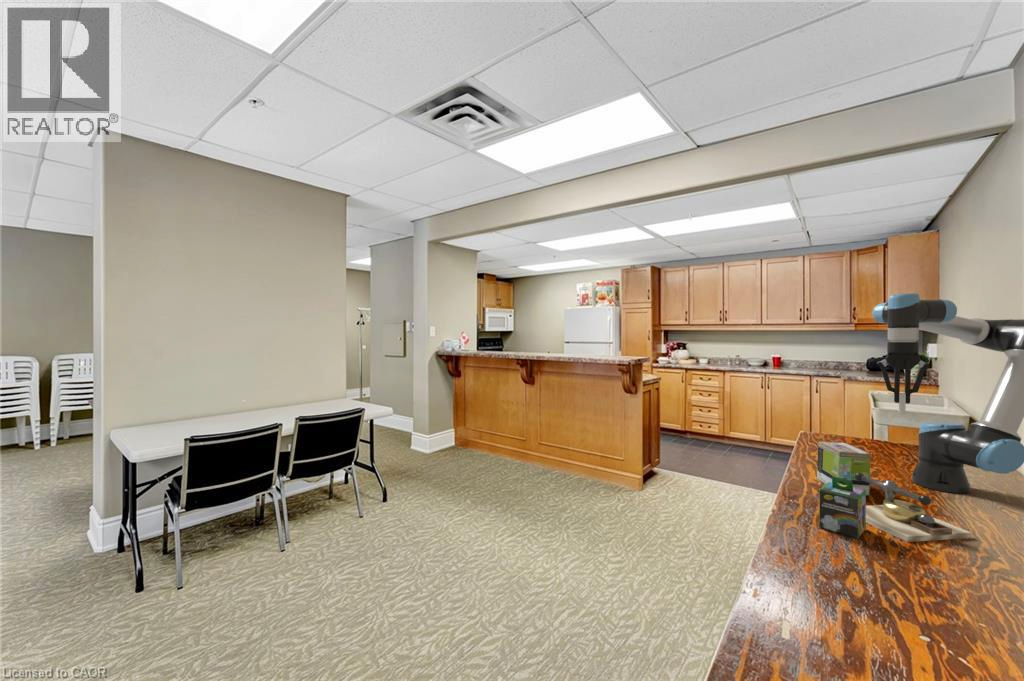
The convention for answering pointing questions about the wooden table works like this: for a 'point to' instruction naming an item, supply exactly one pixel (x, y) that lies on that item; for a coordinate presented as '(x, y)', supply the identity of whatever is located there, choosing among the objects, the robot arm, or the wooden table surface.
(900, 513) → the capstan
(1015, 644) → the wooden table surface
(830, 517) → the chalk box
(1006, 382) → the robot arm
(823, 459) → the tea box
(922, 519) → the ball
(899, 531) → the stand board
